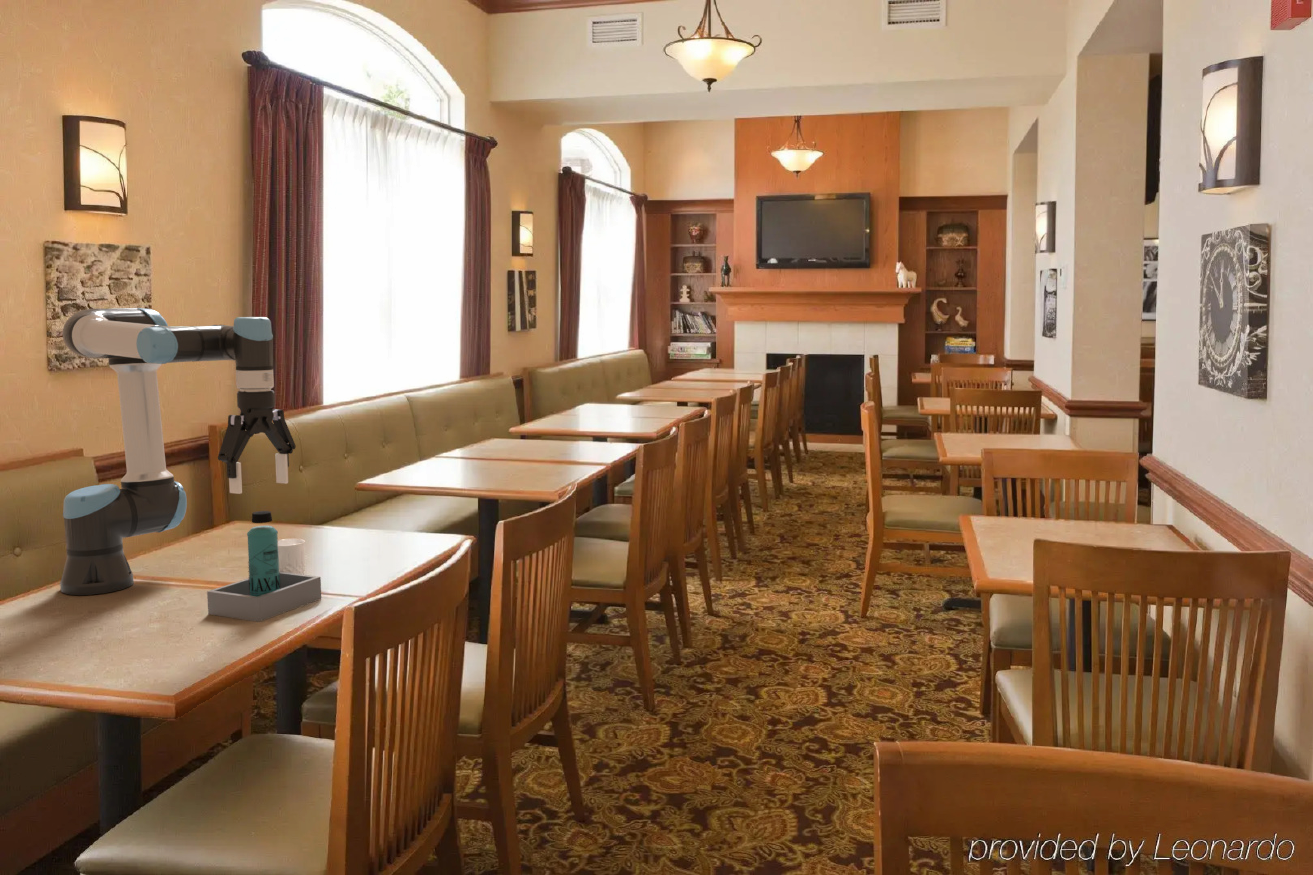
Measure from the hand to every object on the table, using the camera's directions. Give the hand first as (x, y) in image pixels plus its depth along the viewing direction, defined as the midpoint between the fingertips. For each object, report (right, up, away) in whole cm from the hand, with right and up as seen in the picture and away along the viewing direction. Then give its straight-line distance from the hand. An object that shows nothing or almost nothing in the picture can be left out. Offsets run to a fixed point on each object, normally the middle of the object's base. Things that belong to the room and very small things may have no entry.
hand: (259, 488), depth 229 cm
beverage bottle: (0, -25, +3) cm, 25 cm away
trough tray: (0, -26, +3) cm, 26 cm away
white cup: (-1, -24, +22) cm, 33 cm away
